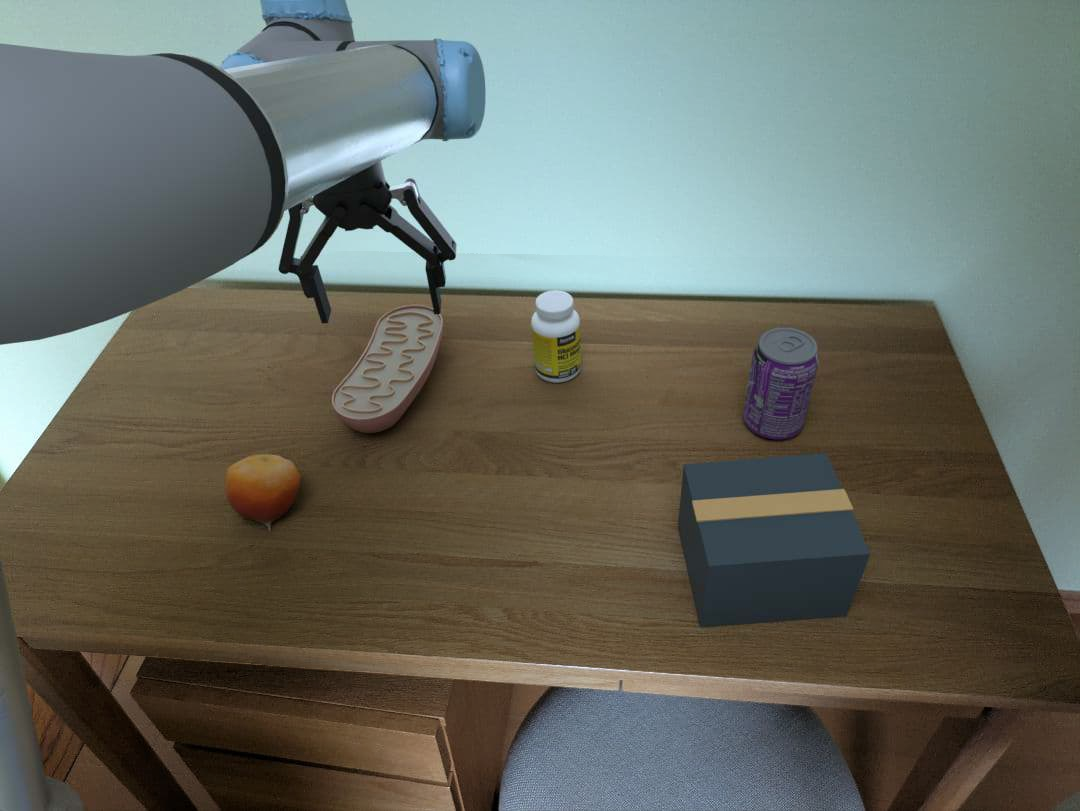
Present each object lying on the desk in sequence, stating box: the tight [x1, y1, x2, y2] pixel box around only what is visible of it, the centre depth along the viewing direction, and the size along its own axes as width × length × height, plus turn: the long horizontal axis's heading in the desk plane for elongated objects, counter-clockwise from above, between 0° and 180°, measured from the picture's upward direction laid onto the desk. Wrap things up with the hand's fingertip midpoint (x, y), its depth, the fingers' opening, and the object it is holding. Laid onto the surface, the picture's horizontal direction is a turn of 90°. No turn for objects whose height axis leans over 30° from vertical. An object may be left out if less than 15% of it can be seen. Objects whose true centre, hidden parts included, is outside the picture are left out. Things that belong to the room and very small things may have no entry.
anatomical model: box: [331, 304, 444, 434], centre depth 101 cm, size 23×10×5 cm, turn 167°
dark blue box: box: [677, 452, 871, 628], centre depth 75 cm, size 14×12×10 cm
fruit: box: [224, 453, 302, 533], centre depth 86 cm, size 8×8×8 cm
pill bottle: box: [530, 289, 582, 384], centre depth 99 cm, size 6×6×11 cm
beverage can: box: [742, 327, 820, 440], centre depth 89 cm, size 7×7×12 cm
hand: (382, 312), depth 94 cm, fingers open, 13 cm apart
